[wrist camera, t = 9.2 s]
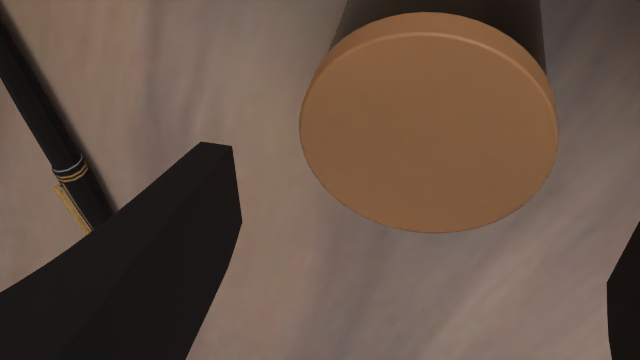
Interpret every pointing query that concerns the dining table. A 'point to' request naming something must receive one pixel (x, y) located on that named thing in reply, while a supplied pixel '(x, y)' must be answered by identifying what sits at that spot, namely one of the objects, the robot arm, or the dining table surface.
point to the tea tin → (432, 112)
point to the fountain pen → (52, 138)
